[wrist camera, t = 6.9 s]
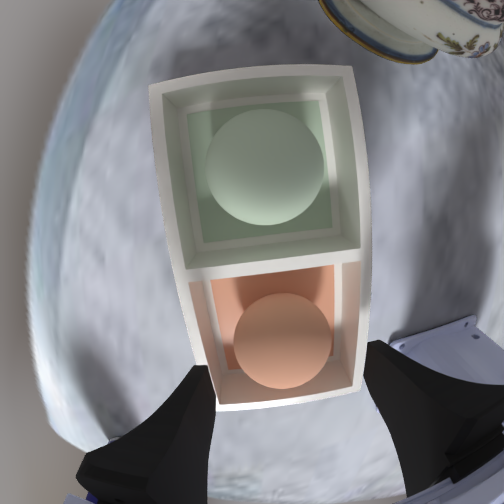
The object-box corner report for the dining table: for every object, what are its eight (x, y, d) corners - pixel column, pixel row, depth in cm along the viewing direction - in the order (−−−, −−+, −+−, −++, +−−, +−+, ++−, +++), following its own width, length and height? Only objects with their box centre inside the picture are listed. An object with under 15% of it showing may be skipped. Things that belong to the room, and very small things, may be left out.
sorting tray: (331, 86, 13) (351, 66, 10) (344, 359, 18) (360, 390, 14) (168, 103, 13) (148, 85, 10) (216, 377, 18) (211, 411, 14)
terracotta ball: (319, 345, 17) (341, 397, 12) (241, 356, 17) (241, 413, 12) (316, 272, 15) (346, 313, 10) (228, 285, 15) (222, 332, 10)
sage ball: (302, 118, 13) (330, 91, 8) (313, 211, 14) (346, 228, 9) (207, 128, 13) (187, 104, 8) (219, 222, 14) (205, 245, 10)
